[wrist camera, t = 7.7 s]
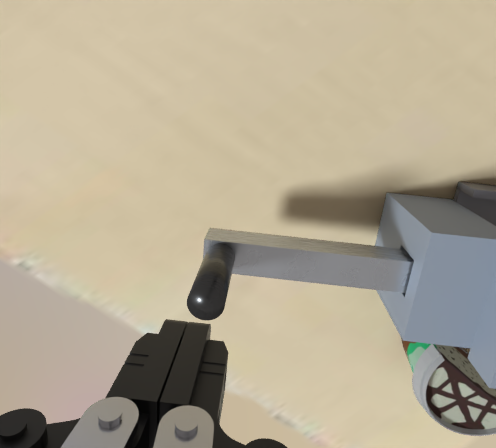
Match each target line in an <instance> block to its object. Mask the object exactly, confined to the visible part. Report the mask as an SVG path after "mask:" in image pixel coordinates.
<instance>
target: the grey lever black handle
mask: <svg viewBox="0 0 496 448" xmlns="http://www.w3.org/2000/svg"><path fill="white" fill-rule="evenodd" d="M413 263H414V260H413V258H412V257H411V256H410V255H409V254H408V252H407V251H406V250H405V249H399V248H390V247H381V246H371V245H362V244H353V243H344V242H335V241H326V240H317V239H307V238H298V237H289V236H280V235H271V234H262V233H253V232H243V231H234V230H225V229H216V228H209V230H208V233H207V235H206V237H205V239H204V255H203V262H202V264H201V266H200V269H199V271H198V274H197V276H196V279H195V281H194V284H193V286H192V289H191V291H190V293H189V296H188V299H187V306H188V309H189V311H190V312H191V314H192V315H194V316H195V317H197V318H199V319H201V320H213V319H215V318H217V317H219V316H220V315H221V314H222V312H223V310H224V306H225V302H226V297H227V293H228V288H229V284H230V279H231V275H232V274H240V275H249V276H258V277H267V278H275V279H284V280H293V281H302V282H311V283H320V284H329V285H338V286H347V287H356V288H365V289H374V290H382V291H391V292H400V293H406V290H407V286H408V283H409V279H410V275H411V271H412V267H413Z"/></svg>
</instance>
